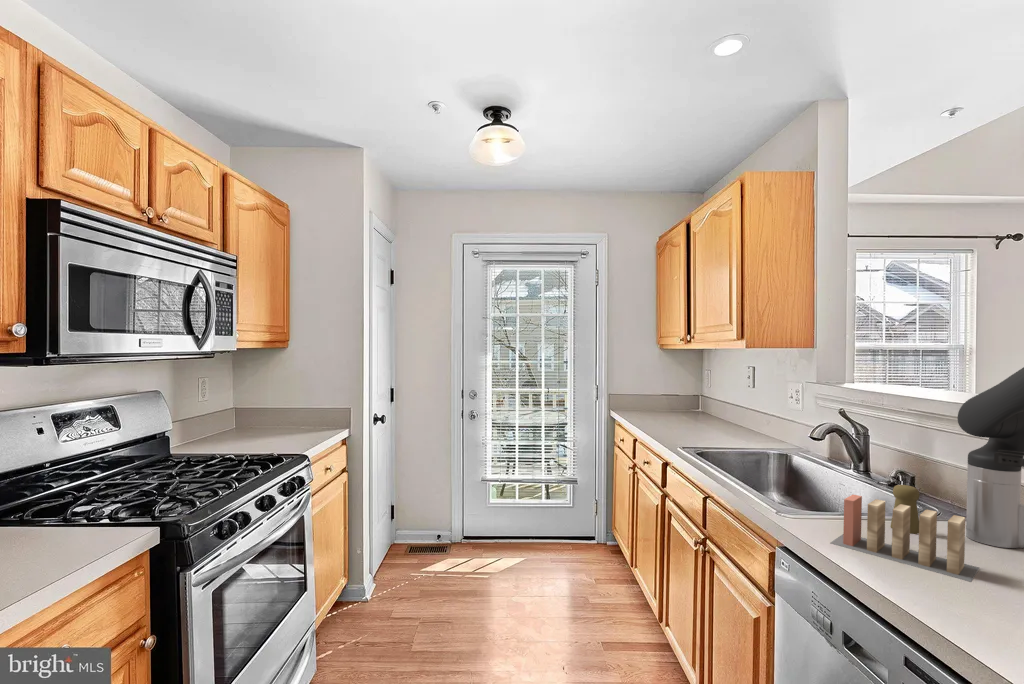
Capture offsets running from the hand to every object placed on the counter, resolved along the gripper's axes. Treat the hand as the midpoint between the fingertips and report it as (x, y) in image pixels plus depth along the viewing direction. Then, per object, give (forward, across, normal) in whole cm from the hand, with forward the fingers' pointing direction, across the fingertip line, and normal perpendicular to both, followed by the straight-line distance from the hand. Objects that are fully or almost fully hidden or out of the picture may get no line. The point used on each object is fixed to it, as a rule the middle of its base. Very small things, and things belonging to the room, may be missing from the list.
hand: (996, 456), depth 100 cm
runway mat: (+15, 0, +24) cm, 28 cm away
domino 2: (+19, 0, +24) cm, 30 cm away
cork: (+18, -20, +24) cm, 36 cm away
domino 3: (+15, 0, +24) cm, 28 cm away
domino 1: (+24, 0, +24) cm, 33 cm away
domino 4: (+10, 0, +24) cm, 26 cm away
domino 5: (+6, 0, +24) cm, 24 cm away
